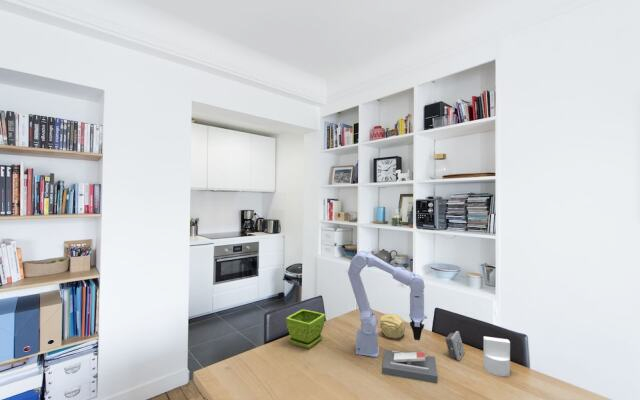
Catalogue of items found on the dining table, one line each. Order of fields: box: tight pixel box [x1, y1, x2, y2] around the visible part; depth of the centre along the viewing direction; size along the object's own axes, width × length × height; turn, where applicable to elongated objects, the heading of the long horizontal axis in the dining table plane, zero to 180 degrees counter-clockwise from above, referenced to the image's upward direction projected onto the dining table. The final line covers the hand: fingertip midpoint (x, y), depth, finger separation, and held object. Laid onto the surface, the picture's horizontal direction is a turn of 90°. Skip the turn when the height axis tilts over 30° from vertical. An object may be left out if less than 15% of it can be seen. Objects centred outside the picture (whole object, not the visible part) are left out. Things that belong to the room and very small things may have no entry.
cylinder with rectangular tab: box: [483, 335, 511, 378], centre depth 118 cm, size 9×9×12 cm
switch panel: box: [381, 349, 439, 384], centre depth 119 cm, size 20×14×5 cm
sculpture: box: [379, 313, 406, 340], centre depth 147 cm, size 11×12×11 cm
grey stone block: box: [445, 330, 466, 362], centre depth 129 cm, size 9×5×9 cm, turn 141°
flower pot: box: [285, 308, 326, 349], centre depth 140 cm, size 14×14×13 cm
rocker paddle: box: [394, 351, 426, 362], centre depth 119 cm, size 12×5×1 cm, turn 73°
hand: (416, 336), depth 125 cm, fingers open, 5 cm apart
